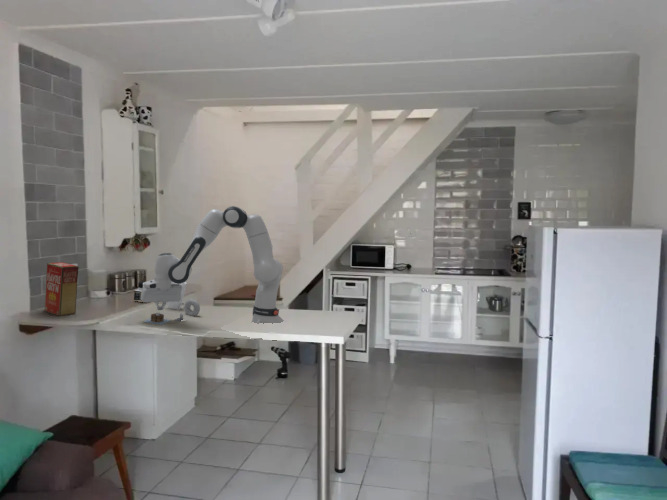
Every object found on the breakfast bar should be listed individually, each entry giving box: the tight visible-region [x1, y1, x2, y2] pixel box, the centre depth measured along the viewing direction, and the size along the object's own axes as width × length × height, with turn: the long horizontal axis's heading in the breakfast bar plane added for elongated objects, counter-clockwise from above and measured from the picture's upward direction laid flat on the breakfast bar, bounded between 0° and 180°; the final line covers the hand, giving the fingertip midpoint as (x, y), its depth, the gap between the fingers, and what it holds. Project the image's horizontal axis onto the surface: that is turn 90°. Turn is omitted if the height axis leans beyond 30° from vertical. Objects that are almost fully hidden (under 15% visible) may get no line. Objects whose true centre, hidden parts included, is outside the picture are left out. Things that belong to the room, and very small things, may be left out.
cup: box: [166, 281, 188, 311], centre depth 287 cm, size 12×12×16 cm
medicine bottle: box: [133, 281, 145, 301], centre depth 296 cm, size 7×7×12 cm
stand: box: [173, 313, 184, 322], centre depth 263 cm, size 6×6×4 cm
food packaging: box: [43, 261, 80, 317], centre depth 252 cm, size 13×9×25 cm
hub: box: [143, 312, 171, 325], centre depth 255 cm, size 10×10×5 cm
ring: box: [150, 312, 165, 322], centre depth 255 cm, size 6×6×3 cm
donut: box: [183, 298, 201, 317], centre depth 275 cm, size 10×4×10 cm, turn 68°
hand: (160, 309), depth 257 cm, fingers closed
